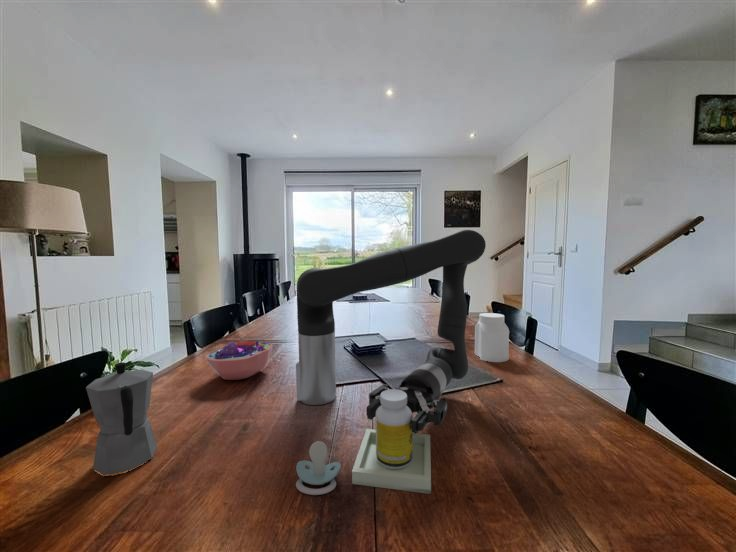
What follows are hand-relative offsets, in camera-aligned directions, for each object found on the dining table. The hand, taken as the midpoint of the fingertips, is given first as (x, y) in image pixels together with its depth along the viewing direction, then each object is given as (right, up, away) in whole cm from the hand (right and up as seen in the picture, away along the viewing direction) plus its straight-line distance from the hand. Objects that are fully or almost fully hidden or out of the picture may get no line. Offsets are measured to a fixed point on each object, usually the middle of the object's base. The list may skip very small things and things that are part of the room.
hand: (390, 420), depth 53 cm
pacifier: (-12, -9, -3) cm, 15 cm away
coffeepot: (-47, -9, +3) cm, 48 cm away
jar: (+40, -4, +57) cm, 70 cm away
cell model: (-42, -6, +42) cm, 60 cm away
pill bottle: (+1, -8, +2) cm, 8 cm away
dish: (+1, -8, +2) cm, 9 cm away
